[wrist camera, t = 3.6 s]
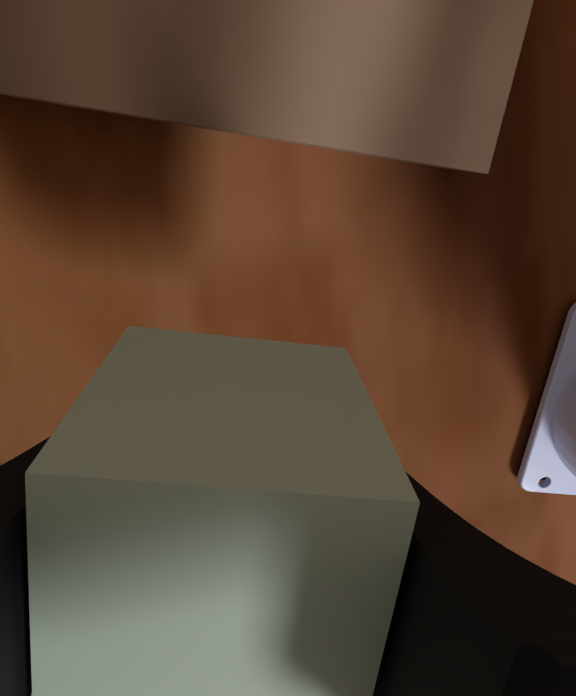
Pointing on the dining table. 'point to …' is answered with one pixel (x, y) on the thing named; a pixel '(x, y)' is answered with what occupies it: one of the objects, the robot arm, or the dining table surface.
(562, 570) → the dining table surface
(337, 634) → the sage block
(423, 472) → the dining table surface
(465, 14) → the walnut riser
